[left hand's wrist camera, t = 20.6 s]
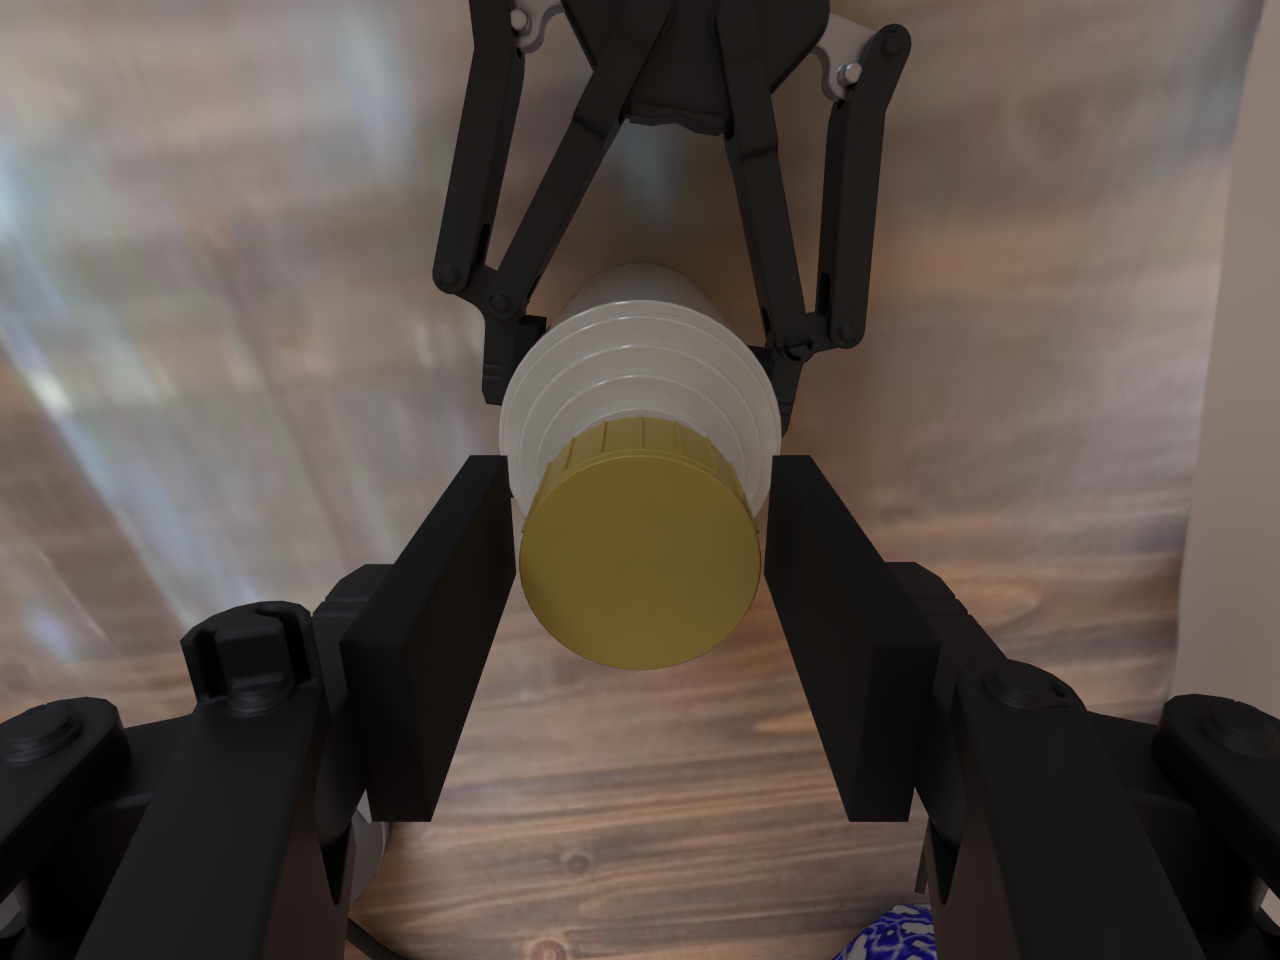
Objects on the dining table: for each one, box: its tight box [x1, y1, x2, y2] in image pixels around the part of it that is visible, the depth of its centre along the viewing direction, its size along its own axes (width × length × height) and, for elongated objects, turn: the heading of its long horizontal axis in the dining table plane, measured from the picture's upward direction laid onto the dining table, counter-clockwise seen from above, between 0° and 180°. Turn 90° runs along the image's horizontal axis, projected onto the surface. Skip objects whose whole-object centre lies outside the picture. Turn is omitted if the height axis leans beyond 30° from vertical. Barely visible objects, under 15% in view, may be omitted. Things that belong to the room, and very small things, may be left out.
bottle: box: [498, 263, 782, 518], centre depth 22 cm, size 8×8×20 cm
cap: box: [519, 415, 761, 670], centre depth 13 cm, size 4×4×2 cm
